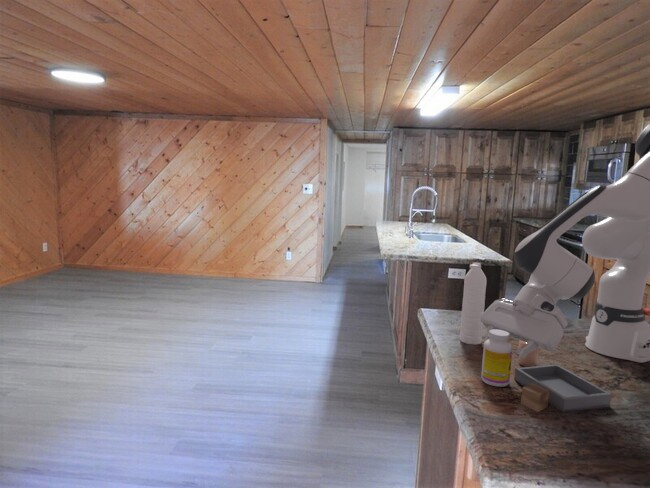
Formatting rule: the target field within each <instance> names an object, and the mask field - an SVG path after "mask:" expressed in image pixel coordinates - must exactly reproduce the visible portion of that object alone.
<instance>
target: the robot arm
mask: <svg viewBox="0 0 650 488" xmlns="http://www.w3.org/2000/svg"><path fill="white" fill-rule="evenodd" d="M634 147H635V148H634V150H635V153H636V154H637V155H638V156H639V158H640V159H638V161H637V162H635V164H634V165H632V166H631V167H630V169H628V170H627V172H626V173H624V175H623V176H622V177H621V178H619V179H618V180H617V181H615V182H613V183H610V184H608V185H602V184H599V185H596V186H594V187H592V188H590V189H589V190H587V191H585V192H584V193H582V194H581V195H580V196H579V197H577V198H576V199H575V200H573V201H572V202H571V203H569V204H568V205H567V206H566V207H565V208H563V209H562V210H560V211H559V212H558V213H557V214H556V215H555V216H554V217H552V218H550V220H549V221H547V222H546V223H545V224H544V225H542V226H541V227H540V228H539V229H537V230H536V231H535V232H533V233H531V234H530V235H527V236H525V238H524V239H522V240H521V241H520V242H519V243H518V245H517V246H516V248H515V249H514V251H513V257H514V262H515V264H516V268H518V269H520V270H522V271H524V272H525V273H526V274H528V275H530V277H529V279H528V282H527V283H526V284H525V285H523V286H522V288H521V289H520V291H519V292H518V293H517V295H516V296H515V297H514V299H513V300H509V299H507V298H502V297H501V298H500V299H498V298H497V299H495V300H494V301H493V302H492V303H491V304H490V305H489V306H488V307H487V308H486V309H484V313H483V314H482V315H481V322H482V323H483V327H485V328H486V336H485V338H484V339H483V342H485V341H486V340H488V339H489V338H490V337H489V331H490V330H492V329H498V330H503V331H506V332H508V333H509V334H510V335H509V338H513V339H516V340H521V341H524V342H526V343H527V344H528V345H527V346H525V347H524V348H519V347H518V349H517V350H516V351H515V356H517V358H518V357H520V358H522V359H524V358H525V356H526V355H527V354H529V353H530V352H532V351H534V350H536V348H537V347H539V349H542V350H546V351H548V352H551V351H553V350H555V349H556V348H557V347H558V346H559V344H560V342H561V340H562V338H563V336H564V329H565V328H567V326H568V324H569V323H568V321H567V318H566V316H565V315H564V313H563V312H562V310H561V309H560V307H559V306H557V303H558V301H559V300H562V301H575V300H576V301H577V300H581V299H582V298H584V297H586V296H587V294H588V293H589V291H590V290H592V288H593V286H594V284H595V283H596V274H595V270H594V268H592V267H591V266H590V265H589V264H588V263H586V262H585V261H584V260H582V259H581V258H579V257H578V256H577V255H575V254H573V253H572V252H571V251H569V250H568V249H566V248H565V247H563V246H562V245H560V244H559V243H558V242H557V239H558V238H560V236H562V235H563V234H564V233H566V232H567V231H568V230H570V229H571V228H572V227H573V226H575V225H576V224H578V222H580V221H581V220H582V219H584V218H586V217H588V216H593V215H596V216H597V215H598V216H602V217H603V216H604V217H606V218H604V219H603V220H601V221H599V222H596V223H594V224H590V225H589V226H588V227H587V228H586V229H585V230H584V232H583V234H582V238H581V243H582V248H583V250H584V251H585V253H586V254H587V255H589V256H591V257H594V258H597V259H601V260H609V261H610V260H613V261H614V260H616V261H615V263H614V264H613V266H612V267H611V268H610V269H609V270H608V271H606V272H604V273H603V274H602V275H601V277H600V278H599V283H598V284H599V285H598V291H597V292H598V293H597V298H596V299H597V300H596V301H595V303H594V307H593V308H594V309H593V314H594V315H593V317H592V319H591V323H590V327H589V332H588V335H586V336H585V344H584V345H585V346H586V348H588V349H589V350H591V351H593V352H595V353H598V354H600V355H603V356H607V357H610V358H616V359H621V360H627V361H631V362H635V363H647V362H650V324H649V323H648V322H647V321H646V318H645V316H646V317H647V316H648V317H650V308H647V307H645V308H643V300H644V295H645V290H646V284H647V282H648V279H649V278H650V123H649V124H648V125H646V126H645V127H644V128H643V129H642V130H641V131H640V133H639V134H638V136H637V139H636V142H635V144H634Z"/></svg>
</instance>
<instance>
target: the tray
mask: <svg viewBox="0 0 650 488" xmlns="http://www.w3.org/2000/svg"><path fill="white" fill-rule="evenodd" d="M514 381H516V382H518V383H519V384H521V385H522V386H523V387H525V386H527V385H529V384H532V383H533V384H535V385H538V386H540V387H542V388H545V389H547V390H549V398H548V404H551V406H553V407H554V408H557V409H558V410H559V411H561V412H562V413H571V412H577V411H585V410H592V409H594V410H595V409H600V408H608V407H611V400H612V399H611V398H612V393H611V392H609V391H607V390H605V389H603V388H601V387H600V386H597V385H596V384H594V383H592V382H590V381H588V380H587V379H585V378H583V377H581V376H579V375H578V374H576V373H574V372H572V371H570V370H569V369H568V368H565V367H563V366H561V365H559V364H557V363H556V364H546V365H537V366H534V367H526V366H522V367H516V368H515V371H514Z"/></svg>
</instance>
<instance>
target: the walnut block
mask: <svg viewBox="0 0 650 488" xmlns="http://www.w3.org/2000/svg"><path fill="white" fill-rule="evenodd" d="M548 398H549V390H547V389H545V388H542V387H540V386H538V385H535V384H533V383H532V384H529V385H527V386H523V387H521V397H520V405H522V406H524V407H526V408H529V409H530V410H533V411H535V412H537V413H539V412H540V411H542V410H545V409H546V408H548V406H549V402H548Z"/></svg>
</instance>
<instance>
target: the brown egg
mask: <svg viewBox="0 0 650 488" xmlns="http://www.w3.org/2000/svg"><path fill="white" fill-rule="evenodd" d="M527 345H528V344H527V343H526V342H524V341H521V340H519V341H518V348H524V347H525V346H527ZM539 350H540V347H537V348H536V350H534V351H532V352H530V353H529V354H527V355H526V356H525V358H524V359H522V358H520V357H517V360H516V361H517V364H519V365H521V366H522V367H534V366H538V359H539Z"/></svg>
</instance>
